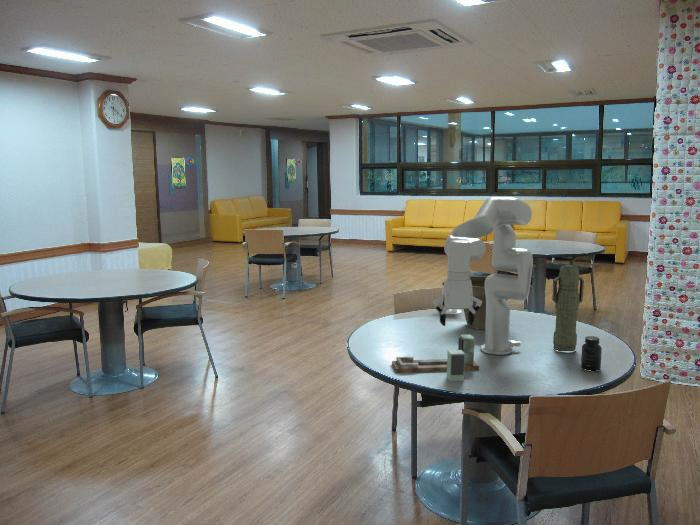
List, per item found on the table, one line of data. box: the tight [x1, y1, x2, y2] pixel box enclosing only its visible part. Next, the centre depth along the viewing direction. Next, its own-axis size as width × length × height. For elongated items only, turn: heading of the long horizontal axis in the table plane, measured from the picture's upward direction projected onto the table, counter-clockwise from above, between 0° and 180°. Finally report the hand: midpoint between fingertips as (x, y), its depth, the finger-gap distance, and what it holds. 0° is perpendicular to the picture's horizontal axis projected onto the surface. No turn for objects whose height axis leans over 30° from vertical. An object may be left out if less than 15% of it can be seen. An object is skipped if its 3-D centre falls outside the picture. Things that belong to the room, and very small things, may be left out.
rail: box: [391, 334, 480, 374], centre depth 220 cm, size 31×9×12 cm, turn 96°
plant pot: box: [462, 275, 508, 331], centre depth 276 cm, size 25×25×22 cm
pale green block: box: [446, 349, 465, 382], centre depth 208 cm, size 5×5×10 cm
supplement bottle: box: [580, 335, 603, 372], centre depth 219 cm, size 7×7×12 cm
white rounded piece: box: [441, 281, 463, 315], centre depth 305 cm, size 12×11×15 cm
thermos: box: [551, 264, 585, 351], centre depth 239 cm, size 9×12×35 cm
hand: (456, 324), depth 206 cm, fingers open, 9 cm apart
